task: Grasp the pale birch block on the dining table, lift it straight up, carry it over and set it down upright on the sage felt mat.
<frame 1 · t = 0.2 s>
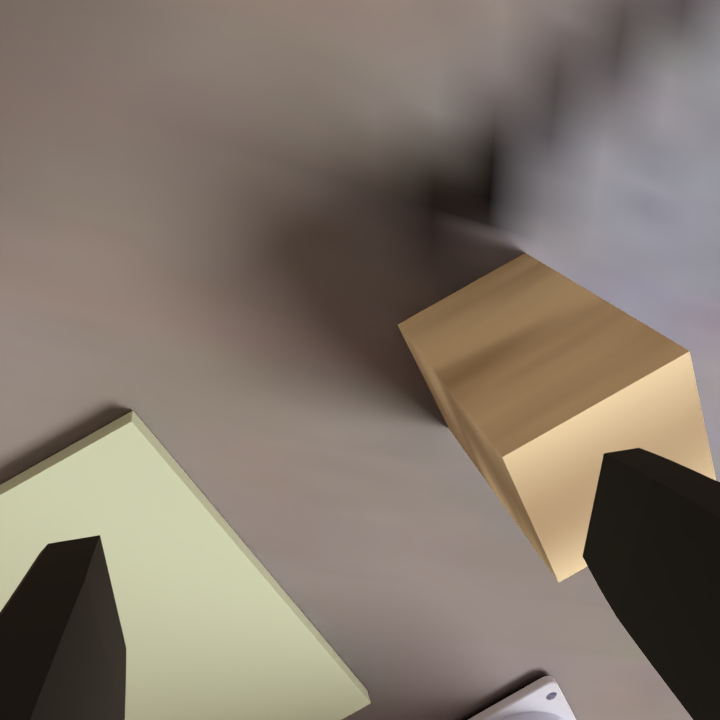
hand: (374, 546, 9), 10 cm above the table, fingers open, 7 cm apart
felt mat: (94, 675, 22), on the table
birch block: (484, 345, 20), on the table
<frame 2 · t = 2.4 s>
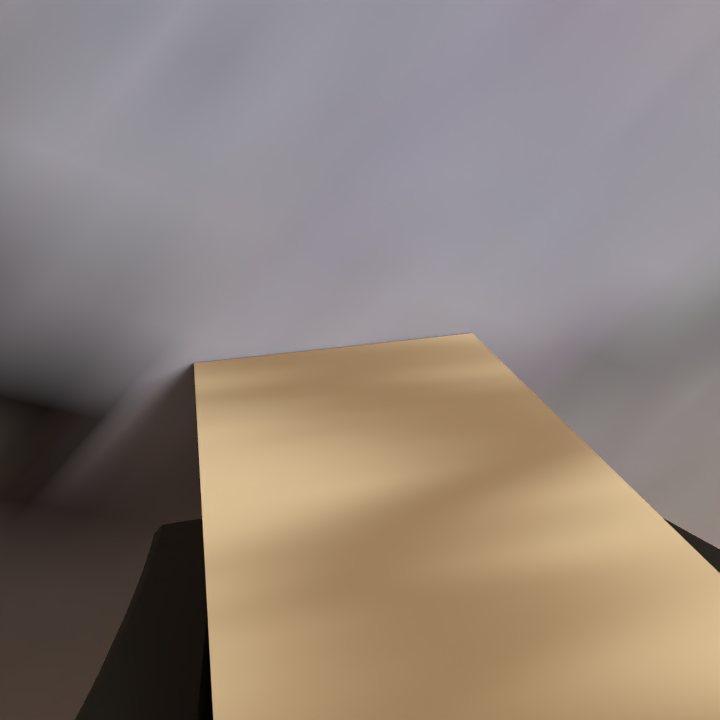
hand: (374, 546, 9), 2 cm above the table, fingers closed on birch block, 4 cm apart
birch block: (341, 464, 11), on the table, touching gripper
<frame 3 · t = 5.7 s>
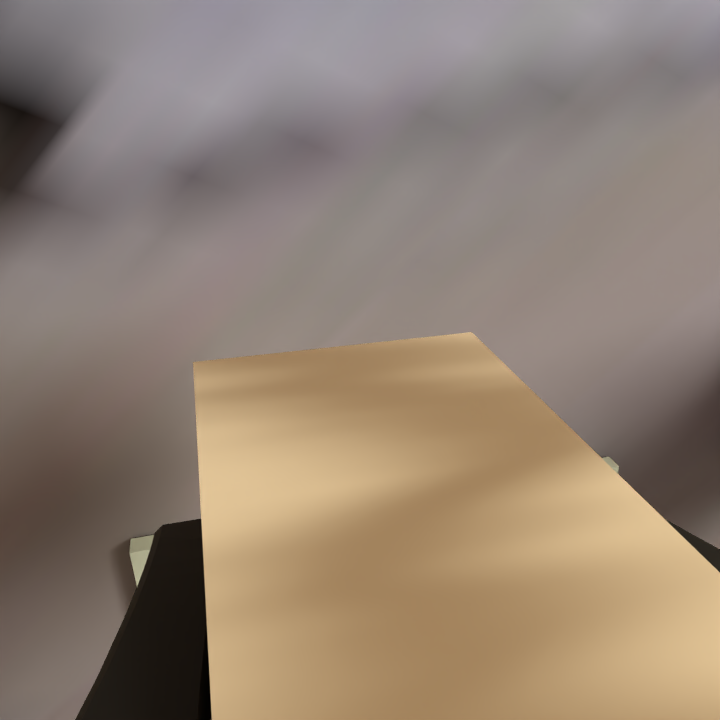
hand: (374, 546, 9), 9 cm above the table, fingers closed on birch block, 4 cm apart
felt mat: (387, 644, 24), on the table
birch block: (341, 463, 11), point 7 cm above the table, touching gripper
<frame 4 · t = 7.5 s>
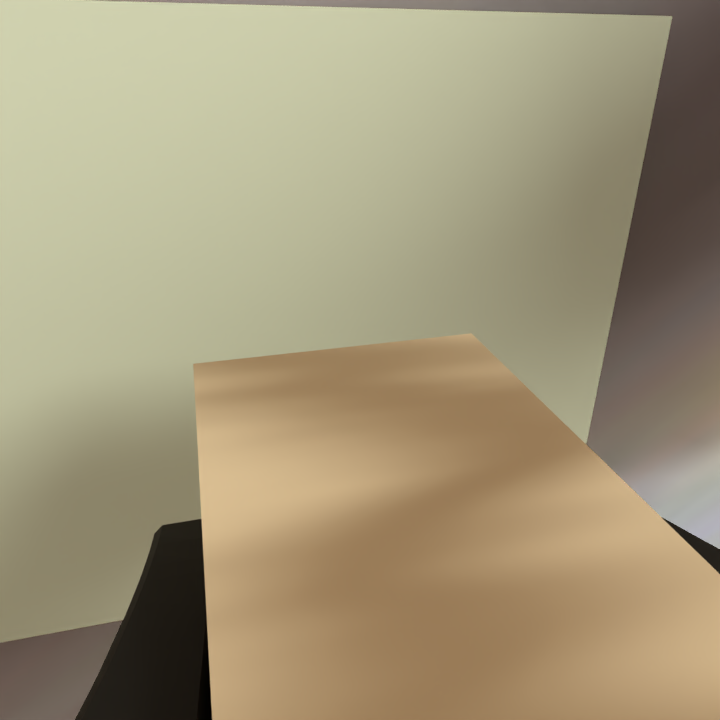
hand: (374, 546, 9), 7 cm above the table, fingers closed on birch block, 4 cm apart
felt mat: (297, 347, 15), on the table
birch block: (341, 464, 11), point 5 cm above the table, touching gripper
when the fingers open (4 cm above the table, at t = 8.9 s): birch block drops 1 cm, resting on felt mat.
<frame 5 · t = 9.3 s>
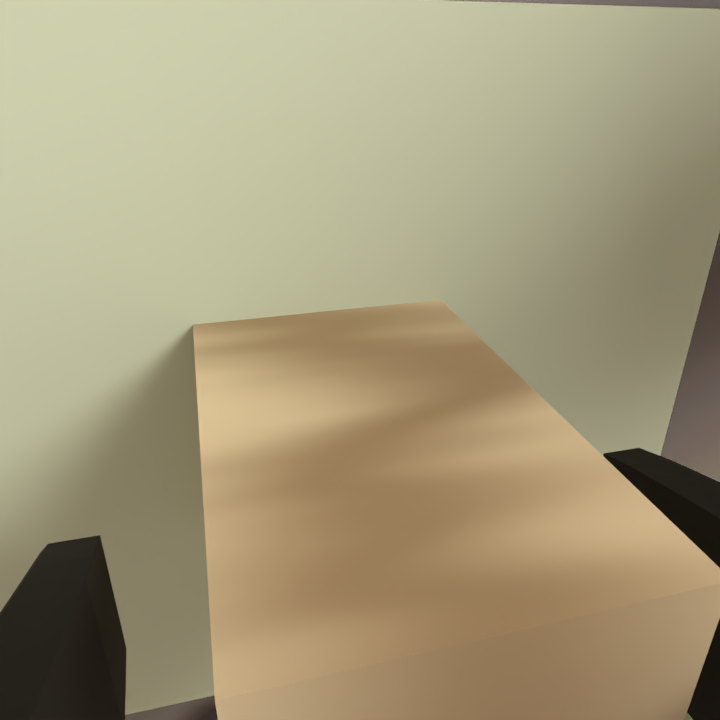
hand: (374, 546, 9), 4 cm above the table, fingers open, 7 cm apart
felt mat: (317, 404, 13), on the table
birch block: (325, 419, 12), point 1 cm above the table, touching felt mat
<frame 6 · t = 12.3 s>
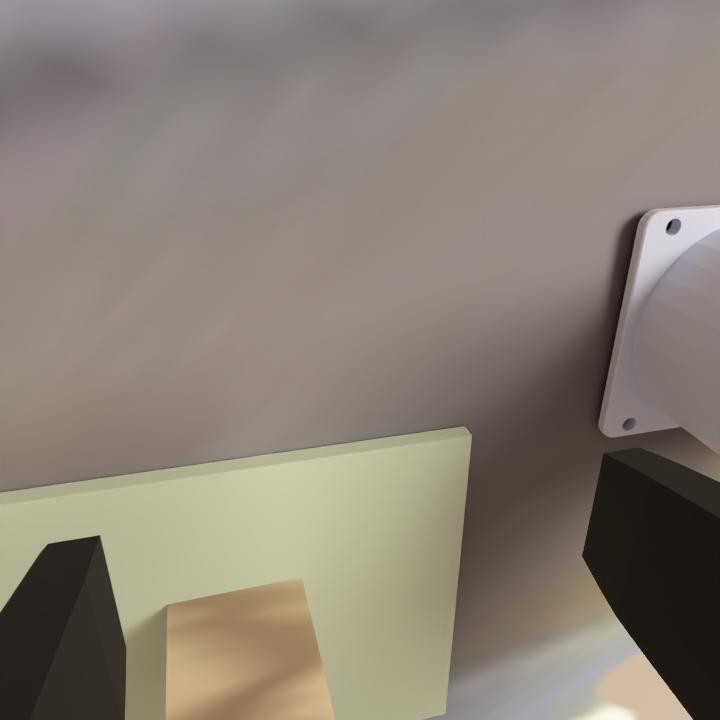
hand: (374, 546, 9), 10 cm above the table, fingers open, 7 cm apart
felt mat: (240, 623, 22), on the table
birch block: (242, 637, 22), point 1 cm above the table, touching felt mat
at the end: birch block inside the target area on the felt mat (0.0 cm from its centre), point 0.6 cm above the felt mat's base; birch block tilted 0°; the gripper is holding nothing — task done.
